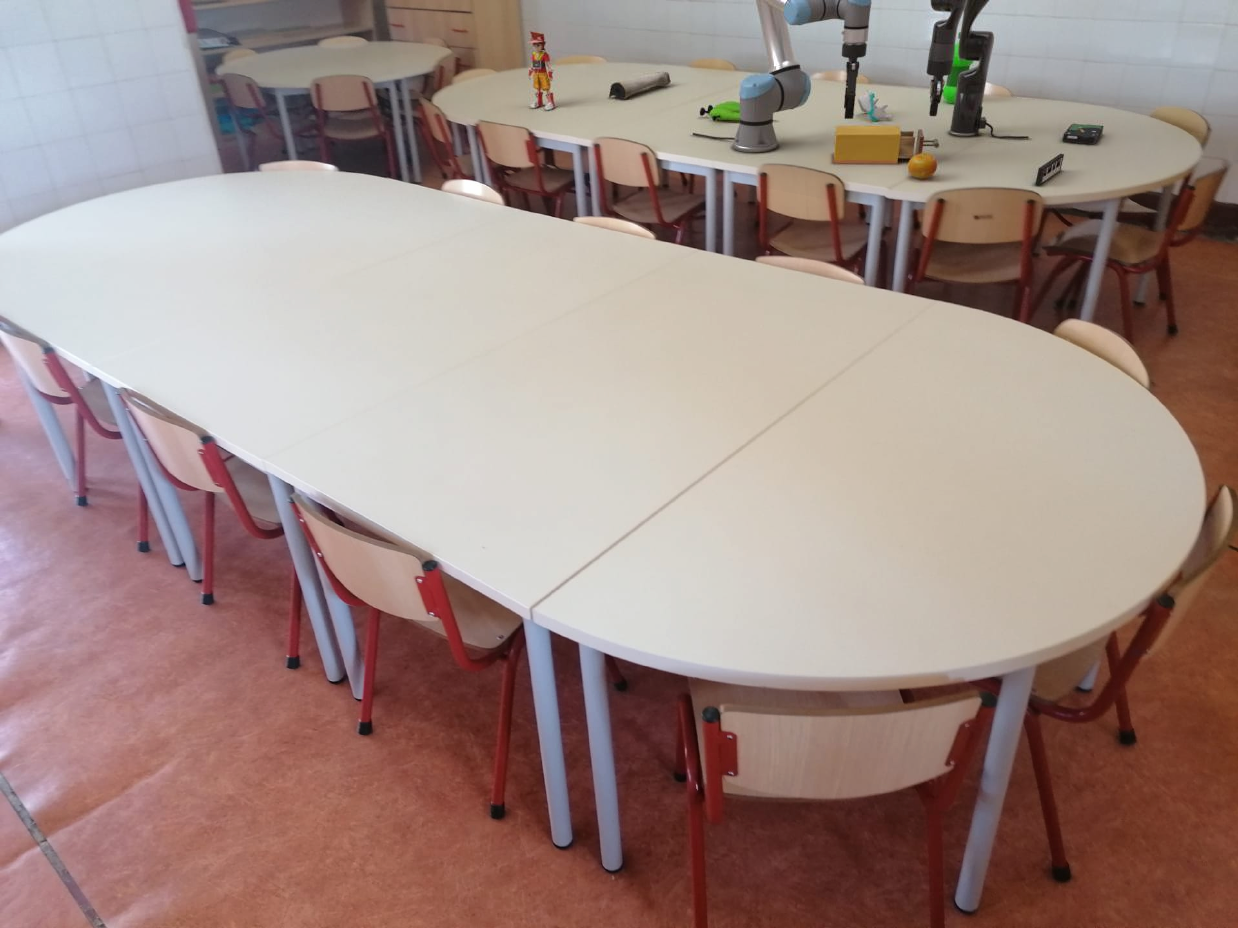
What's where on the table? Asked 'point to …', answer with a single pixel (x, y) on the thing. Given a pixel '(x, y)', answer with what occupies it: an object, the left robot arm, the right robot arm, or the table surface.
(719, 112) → the toy
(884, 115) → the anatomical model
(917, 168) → the fruit
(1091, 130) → the disk drive
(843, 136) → the cabinet
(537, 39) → the toy
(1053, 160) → the midi keyboard
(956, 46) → the plastic bottle
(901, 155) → the drawer
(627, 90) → the rolled mat
